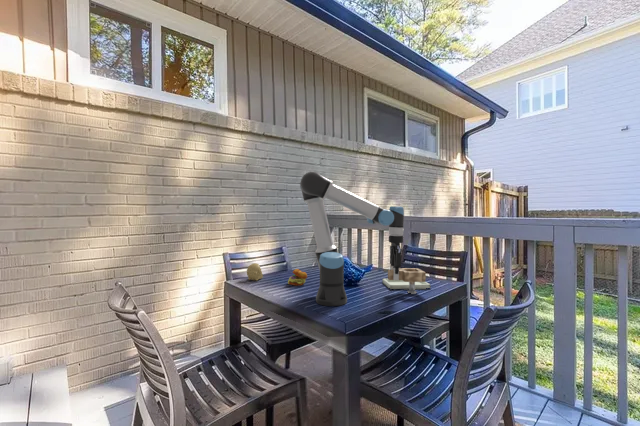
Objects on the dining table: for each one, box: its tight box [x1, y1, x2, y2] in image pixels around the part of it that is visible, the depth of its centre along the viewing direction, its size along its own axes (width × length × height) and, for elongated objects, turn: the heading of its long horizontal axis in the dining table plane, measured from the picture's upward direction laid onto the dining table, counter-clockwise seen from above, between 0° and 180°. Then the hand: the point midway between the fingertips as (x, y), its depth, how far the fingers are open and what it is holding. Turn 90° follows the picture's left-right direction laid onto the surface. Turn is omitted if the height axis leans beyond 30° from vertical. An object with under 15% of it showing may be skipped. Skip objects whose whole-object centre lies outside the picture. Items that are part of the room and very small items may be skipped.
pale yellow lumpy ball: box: [246, 262, 264, 281], centre depth 205 cm, size 10×12×11 cm
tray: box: [382, 277, 432, 290], centre depth 191 cm, size 23×17×2 cm
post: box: [406, 282, 418, 295], centre depth 175 cm, size 5×5×7 cm
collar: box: [387, 267, 427, 282], centre depth 174 cm, size 18×11×5 cm, turn 94°
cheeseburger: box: [287, 268, 308, 286], centre depth 194 cm, size 10×11×10 cm
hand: (394, 278), depth 174 cm, fingers closed on collar, 3 cm apart
